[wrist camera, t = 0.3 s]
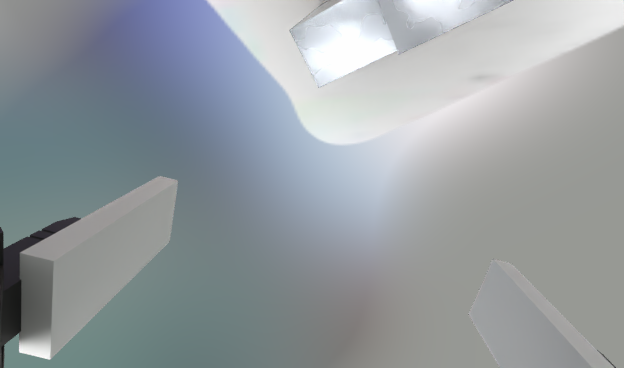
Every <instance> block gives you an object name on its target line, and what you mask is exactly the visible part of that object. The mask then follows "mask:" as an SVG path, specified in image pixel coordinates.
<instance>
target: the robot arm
mask: <svg viewBox="0 0 624 368" xmlns="http://www.w3.org/2000/svg"><path fill="white" fill-rule="evenodd" d="M177 185H178V180H173V179H169V178H165V177H161V176H159V177H157V178H155V179H153V180H151V181H150V182H148V183H146V184H144V185H143V186H140V187H139V188H137V189H135V190H133V191H131V192H129V193H128V194H126V195H124V196H122V197H120V198H118V199H117V200H115V201H113V202H111V203H109V204H108V205H106V206H104V207H102V208H100V209H98V210H97V211H95V212H93V213H91V214H89V215H88V216H86V217H84V218H82V219H81V218H76V217H74V218H70V219H66V220H61V221H57V222H55V223H53V224H51V225H49V226H47V227H45V228H43V229H42V231H37V232H36V233H33V234H31V235H30V237H26V238H24V239H22V240H20V241H18V242H16V243H14V244H12V245H10V246H8V247H6V248H4V249H3V231H2V229H1V227H0V368H4V344H6V343H7V342H8V341H9V340H11V339H12V338H13V337H14V336H16V335H17V334H18V333H19V352H20V353H25V354H29V355H33V356H38V357H41V358H46V359H51V358H52V357H53V356H54V355H55V354H56V353H57V352H58V351H59V350H60V349H61V348H62V347H63V346H64V345H65V344H66V343H67V342H68V341H69V340H70V339H71V338H72V337H74V335H76V333H78V331H80V330H81V329H82V328H83V327H84V326H85V325H86V324H87V323H88V322H89V321H90V320H91V319H92V318H93V317H94V316H95V315H96V314H97V313H98V312H99V311H100V310H101V309H102V308H103V307H104V306H105V305H106V304H107V303H108V302H109V301H110V300H111V299H112V298H113V297H114V296H115V295H116V294H117V293H118V292H119V291H120V290H121V289H122V288H123V287H124V286H125V285H126V284H127V283H128V282H129V281H130V280H131V279H132V278H133V277H134V276H135V275H136V274H137V273H138V272H139V271H140V270H141V269H142V268H143V267H144V266H145V265H146V264H147V263H148V262H149V261H150V260H151V259H152V258H153V257H154V256H155V255H156V254H157V253H158V252H159V251H160V250H161V249H162V248H163V247H164V246H165V245H166V244H167V243H168V242H169V241H170V235H171V228H172V219H173V213H174V206H175V199H176V192H177ZM468 315H469V316H470V318H471V320H472V322H473V323H474V325H475V327H476V328H477V330H478V331H479V333H480V335H481V337H482V339H483V340H484V342H485V344H486V345H487V347H488V349H489V350H490V352H491V354H492V356H493V357H494V359H495V360H496V362H497V364H498V366H499V367H500V368H616V367H615V366H614V365H613V364H612V363H611V362H610V361H609V360H608V359H607V358H606V357H605V356H604V355H603V354H602V353H600V352H599V351H598V350H596V349H595V348H594V347H593V346H592V345H591V344H590V343H589V342H588V341H587V340H586V339H585V338H584V337H583V335H582V334H580V332H579V331H578V330H577V329H575V328H574V326H573V325H572V324H571V323H570V322H569V321H567V319H565V317H564V316H562V314H560V312H559V311H558V310H557V309H556V308H555V307H554V306H553V305H552V304H551V303H550V302H549V301H548V300H547V299H546V298H545V297H544V296H543V295H542V294H541V293H540V292H539V291H538V290H537V289H536V288H535V287H534V286H533V285H532V284H531V283H530V282H529V281H528V280H527V279H526V278H525V277H524V276H523V275H522V274H521V273H520V272H519V271H518V270H517V269H516V268H515V267H514V266H513V265H512V264H511V263H508V262H504V261H500V260H496V259H492V262H491V264H490V266H489V268H488V271H487V273H486V276H485V278H484V280H483V282H482V285H481V287H480V289H479V291H478V294H477V296H476V298H475V300H474V303H473V305H472V307H471V310H470V312H469V314H468Z"/></svg>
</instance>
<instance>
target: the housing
mask: <svg viewBox="0 0 624 368" xmlns="http://www.w3.org/2000/svg"><path fill="white" fill-rule="evenodd" d="M511 1H513V0H329V1H327V2H325V3H323V4H322V5H320V6H319V7H317V8H316V9H315V10H314V11H313V12H311V13H310V14H309V15H308V16H306V17H305V18H304V19H303V20H301V21H300V22H299V23H298V24H297V25H295V26H294V27H293V28H292V29H290V32H291V34H292V36H293V38H294V40H295V42H296V44H297V46H298V48H299V50H300V52H301V54H302V56H303V58H304V60H305V62H306V64H307V66H308V68H309V70H310V72H311V74H312V76H313V78H314V80H315V82H316V84H317V86H318V88H319V87H322V86H324V85H326V84H328V83H330V82H332V81H334V80H336V79H338V78H340V77H342V76H345V75H347V74H349V73H351V72H353V71H355V70H357V69H359V68H361V67H363V66H366V65H368V64H370V63H372V62H374V61H376V60H378V59H380V58H382V57H384V56H386V55H389V54H391V53H393V52H395V51H398V54H401V53H403V52H405V51H407V50H409V49H411V48H414V47H416V46H418V45H420V44H422V43H424V42H426V41H428V40H431V39H433V38H435V37H437V36H439V35H441V34H443V33H445V32H447V31H450V30H452V29H454V28H456V27H458V26H460V25H462V24H464V23H467V22H469V21H471V20H473V19H475V18H477V17H479V16H481V15H483V14H486V13H488V12H490V11H492V10H494V9H496V8H498V7H500V6H503V5H505V4H507V3H509V2H511Z"/></svg>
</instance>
